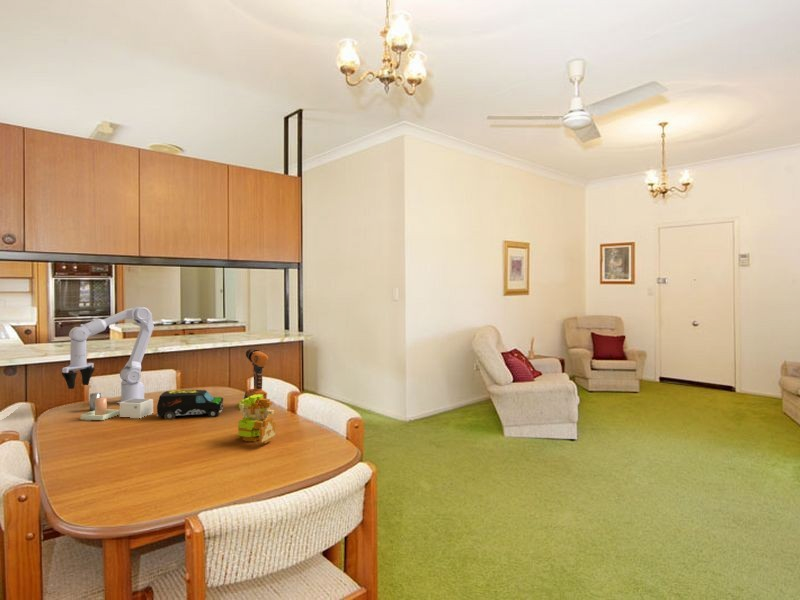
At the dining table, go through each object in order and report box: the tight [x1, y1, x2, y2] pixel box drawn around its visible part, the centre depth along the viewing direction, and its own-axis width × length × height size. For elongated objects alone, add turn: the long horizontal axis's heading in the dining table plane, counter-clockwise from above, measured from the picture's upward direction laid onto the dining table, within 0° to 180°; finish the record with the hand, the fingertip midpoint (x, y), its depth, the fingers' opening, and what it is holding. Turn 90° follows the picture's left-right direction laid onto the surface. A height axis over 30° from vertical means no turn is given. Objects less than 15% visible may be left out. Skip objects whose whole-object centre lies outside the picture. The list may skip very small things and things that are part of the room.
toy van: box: [155, 389, 224, 420], centre depth 194 cm, size 11×25×10 cm, turn 105°
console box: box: [119, 398, 154, 419], centre depth 192 cm, size 8×9×6 cm
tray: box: [80, 408, 120, 421], centre depth 189 cm, size 10×10×2 cm
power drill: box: [243, 348, 270, 400], centre depth 213 cm, size 22×7×25 cm, turn 35°
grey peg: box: [89, 392, 102, 412], centre depth 200 cm, size 4×4×7 cm
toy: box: [237, 394, 276, 444], centre depth 164 cm, size 15×14×15 cm
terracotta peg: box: [95, 396, 108, 415], centre depth 189 cm, size 4×4×7 cm
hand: (78, 386), depth 200 cm, fingers open, 7 cm apart
